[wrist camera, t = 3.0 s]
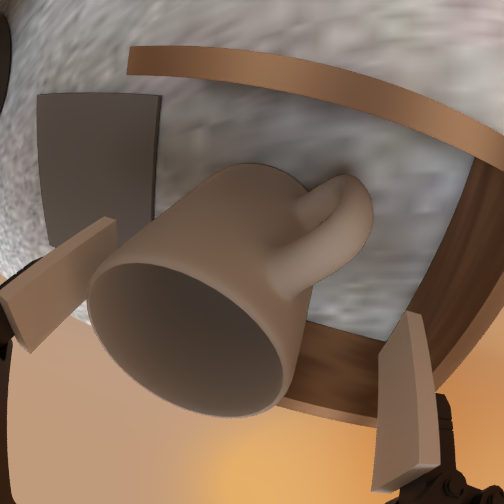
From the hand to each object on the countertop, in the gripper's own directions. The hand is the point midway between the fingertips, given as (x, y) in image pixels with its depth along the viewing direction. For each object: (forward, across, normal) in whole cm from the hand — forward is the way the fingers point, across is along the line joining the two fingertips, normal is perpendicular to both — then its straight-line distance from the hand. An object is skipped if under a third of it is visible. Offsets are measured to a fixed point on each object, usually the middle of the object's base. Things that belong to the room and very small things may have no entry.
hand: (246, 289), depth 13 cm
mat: (+7, -15, -1) cm, 17 cm away
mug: (+8, 0, 0) cm, 8 cm away
